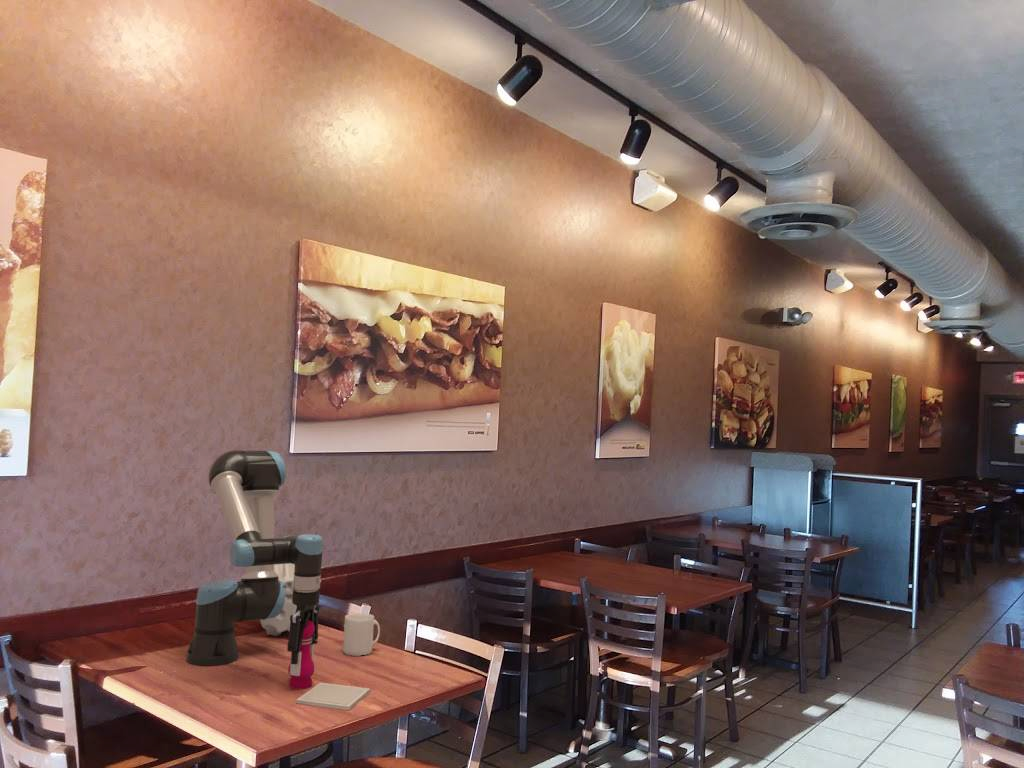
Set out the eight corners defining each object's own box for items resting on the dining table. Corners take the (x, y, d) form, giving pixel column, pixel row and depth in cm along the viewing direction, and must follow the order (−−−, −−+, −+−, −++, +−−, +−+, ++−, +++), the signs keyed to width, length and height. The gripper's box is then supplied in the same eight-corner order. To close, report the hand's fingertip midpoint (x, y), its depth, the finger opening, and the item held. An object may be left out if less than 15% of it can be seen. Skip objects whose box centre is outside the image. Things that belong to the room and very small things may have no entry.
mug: (336, 651, 262) (339, 615, 263) (366, 645, 271) (368, 610, 272) (354, 658, 256) (356, 621, 257) (384, 652, 265) (386, 616, 265)
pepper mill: (290, 690, 223) (295, 618, 224) (284, 682, 230) (289, 612, 231) (316, 688, 227) (320, 616, 228) (310, 680, 233) (314, 610, 234)
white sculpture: (310, 633, 272) (290, 562, 274) (265, 647, 272) (245, 575, 274) (325, 619, 292) (306, 553, 294) (283, 632, 292) (265, 566, 294)
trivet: (296, 703, 214) (296, 699, 214) (320, 686, 228) (320, 682, 229) (348, 710, 211) (348, 706, 211) (370, 692, 225) (370, 688, 225)
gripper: (302, 598, 219) (297, 683, 218) (333, 584, 238) (328, 662, 237) (277, 595, 220) (271, 680, 219) (310, 582, 240) (305, 659, 239)
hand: (301, 670), depth 228 cm, fingers closed on pepper mill, 7 cm apart
